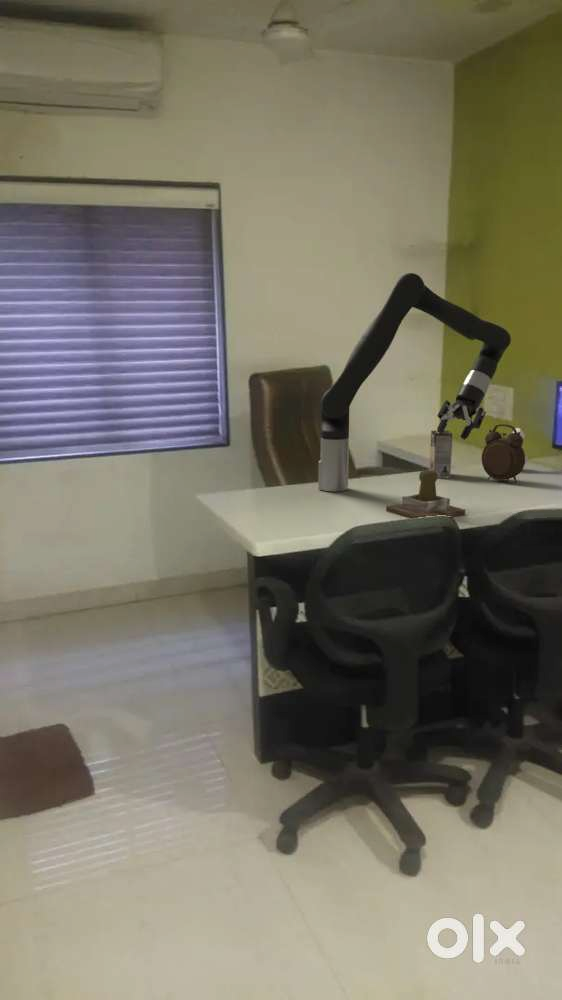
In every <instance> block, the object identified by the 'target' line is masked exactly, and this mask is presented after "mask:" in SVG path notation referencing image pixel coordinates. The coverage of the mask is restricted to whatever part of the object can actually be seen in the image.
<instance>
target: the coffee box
mask: <svg viewBox="0 0 562 1000" xmlns="http://www.w3.org/2000/svg"><path fill="white" fill-rule="evenodd" d="M452 451H453V433H452V432H450V431H449V430H444V432H443V434H440V433H439V432H438V430H431V431H430V454H429V455H430V456H429V470H432V471H435V472H436V473H437V479H451V467H452V466H451V465H452ZM443 477H444V478H443ZM446 477H448V478H446Z"/></svg>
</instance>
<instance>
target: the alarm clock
mask: <svg viewBox="0 0 562 1000" xmlns="http://www.w3.org/2000/svg"><path fill="white" fill-rule="evenodd" d="M499 427H507V428H510V429H512V430H513V431H514V433H512V432H513V431H512V432H510V433H509V434H508V435H507V433H506V432H505V433H504V432H502V433H500V432H499V431H496V430H497V429H498V428H499ZM515 428H516V427H514V426H513V425H510V424H502V423H501V424H496V425H495V426H494V427H493V429H489V430H488V433H487V434H486V435H485V437H484V442H485V444H486V445H485V446H484V448H483V450H482V453H481V464H482V468H483V470H484V471H485V473H486V474H487V475H488V478H487V480H490V479H491V478H492V479H493V480H497V481H501V480H502V481H503V480H506V481H507V483H508V484H509V483H510V481H509V479H513V480H514V482H515V483H518V481H517V479H516V478H517V477H516V476H518V475H519V474H521V473H522V471H523V469H524V467H525V465H526V464H525V455H526V454H525V451H524V449H523V443H524V439H523V438H522V436H521V435H520V432H518V433H517V431H516V429H515Z"/></svg>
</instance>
